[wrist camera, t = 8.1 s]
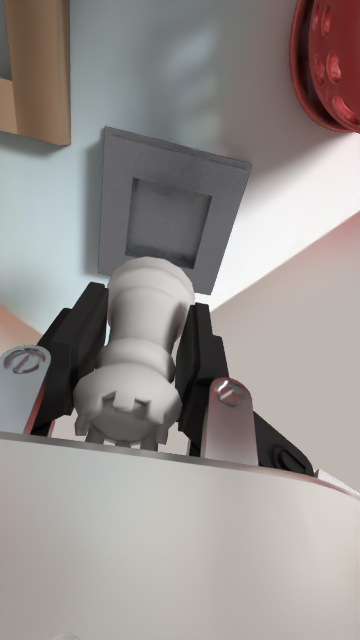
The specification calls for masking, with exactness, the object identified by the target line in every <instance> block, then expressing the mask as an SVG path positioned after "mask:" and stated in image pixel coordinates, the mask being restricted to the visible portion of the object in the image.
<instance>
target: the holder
mask: <svg viewBox="0 0 360 640" xmlns="http://www.w3.org/2000/svg"><path fill="white" fill-rule="evenodd" d="M252 165H253V164H249V163H246V162H242V161H238V160H234V159H230V158H226V157H222V156H219V155H215V154H211V153H207V152H203V151H199V150H196V149H192V148H188V147H184V146H180V145H176V144H172V143H169V142H165V141H161V140H157V139H153V138H149V137H145V136H142V135H138V134H134V133H130V132H126V131H122V130H119V129H115V128H111V127H107V126H105V138H104V158H103V179H102V200H101V221H100V241H99V262H98V273H101V274H106V275H111V276H112V275H113V273H114V271H115V270H116V269H118V268H119V267H120V266H122V265H123V264H124V263H126V262H127V261H129V260H133V259H137V258H141V257H153V258H159V259H165V260H167V261H168V262H170V263H172V264H174V265H175V266H177V267H179V268H181V269H182V271H183V272H184V273H185V275H186V276H187V277H188V278H189V280H190V281H191V282H192V287H193V291H194V292H196V293H201V294H206V295H211V292H212V290H213V287H214V284H215V281H216V277H217V274H218V271H219V268H220V265H221V262H222V259H223V256H224V252H225V249H226V246H227V243H228V240H229V237H230V234H231V231H232V227H233V224H234V221H235V218H236V215H237V212H238V209H239V205H240V202H241V199H242V196H243V193H244V190H245V187H246V184H247V180H248V177H249V174H250V171H251V168H252Z"/></svg>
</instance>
